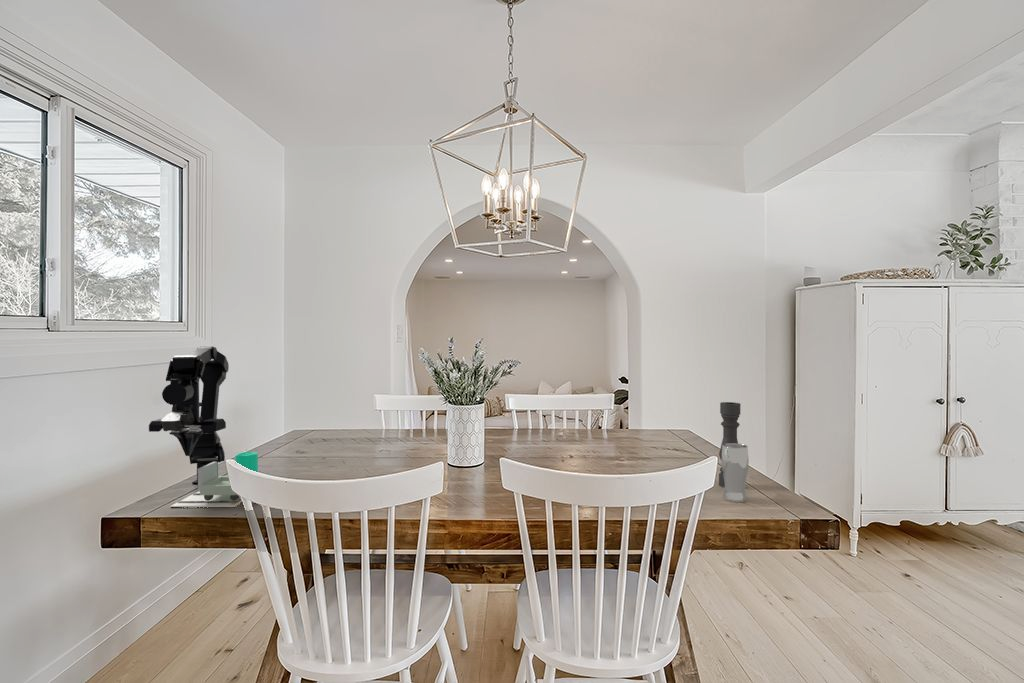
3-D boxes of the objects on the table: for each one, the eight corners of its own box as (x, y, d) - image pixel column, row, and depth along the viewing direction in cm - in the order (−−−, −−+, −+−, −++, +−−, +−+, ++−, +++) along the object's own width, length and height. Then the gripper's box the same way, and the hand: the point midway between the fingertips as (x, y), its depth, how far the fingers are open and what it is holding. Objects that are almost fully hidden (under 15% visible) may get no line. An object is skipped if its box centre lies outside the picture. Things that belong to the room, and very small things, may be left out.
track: (198, 493, 158) (198, 490, 158) (257, 493, 158) (256, 490, 158) (170, 507, 145) (170, 505, 145) (234, 507, 145) (234, 504, 145)
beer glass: (748, 497, 153) (748, 444, 153) (747, 504, 147) (748, 449, 147) (722, 494, 156) (722, 442, 156) (720, 500, 150) (720, 446, 150)
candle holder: (743, 485, 165) (744, 403, 165) (736, 489, 160) (737, 405, 160) (723, 481, 169) (723, 401, 169) (715, 485, 165) (716, 403, 164)
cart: (215, 490, 156) (215, 460, 156) (254, 490, 156) (254, 460, 156) (196, 501, 146) (195, 469, 146) (237, 501, 146) (237, 469, 146)
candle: (249, 492, 159) (248, 451, 159) (231, 491, 160) (230, 450, 160) (262, 486, 165) (262, 446, 164) (244, 485, 166) (244, 446, 166)
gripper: (134, 404, 144) (135, 462, 145) (203, 404, 144) (204, 462, 145) (161, 398, 156) (162, 453, 156) (226, 398, 155) (227, 453, 156)
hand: (188, 455), depth 153 cm, fingers closed
